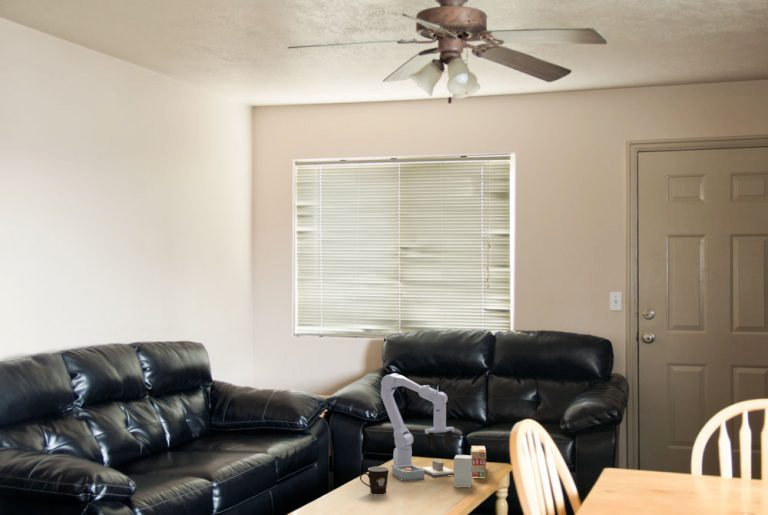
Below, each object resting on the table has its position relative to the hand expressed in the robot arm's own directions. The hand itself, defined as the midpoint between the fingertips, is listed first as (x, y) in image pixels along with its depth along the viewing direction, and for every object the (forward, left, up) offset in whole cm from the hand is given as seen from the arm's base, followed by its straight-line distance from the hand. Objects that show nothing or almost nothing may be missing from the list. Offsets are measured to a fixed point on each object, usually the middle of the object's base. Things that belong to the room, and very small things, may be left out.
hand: (439, 448), depth 413 cm
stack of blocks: (+11, +14, -11) cm, 21 cm away
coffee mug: (+25, -44, -11) cm, 52 cm away
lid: (+4, -3, -10) cm, 11 cm away
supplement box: (+29, -4, -11) cm, 31 cm away
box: (+6, -19, -10) cm, 22 cm away
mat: (+4, -3, -10) cm, 12 cm away
